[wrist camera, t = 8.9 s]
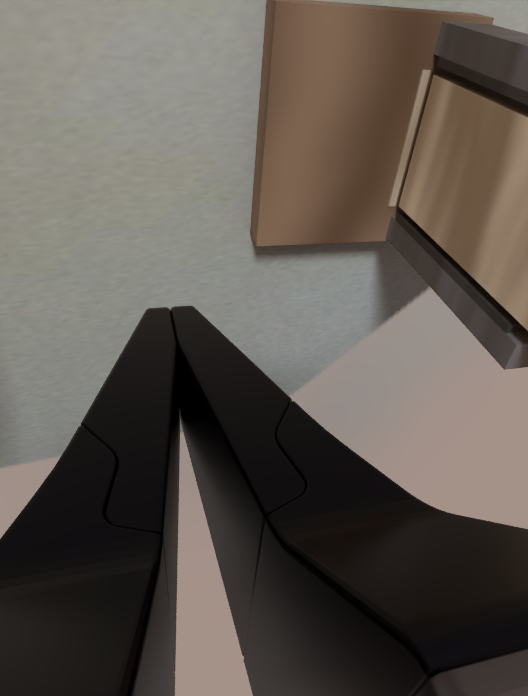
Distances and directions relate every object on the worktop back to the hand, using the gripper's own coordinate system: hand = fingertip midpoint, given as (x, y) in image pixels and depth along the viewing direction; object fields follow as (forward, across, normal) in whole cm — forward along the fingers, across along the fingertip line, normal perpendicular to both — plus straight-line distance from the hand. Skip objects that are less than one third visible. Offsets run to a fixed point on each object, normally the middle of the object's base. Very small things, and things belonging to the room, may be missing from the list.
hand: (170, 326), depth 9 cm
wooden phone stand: (+12, -9, 0) cm, 15 cm away
